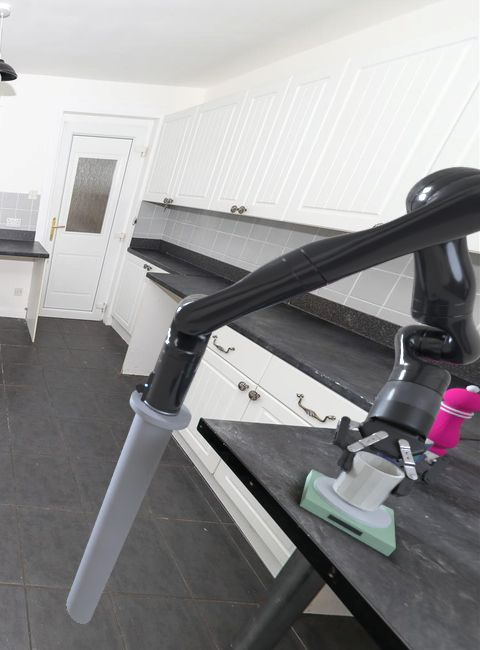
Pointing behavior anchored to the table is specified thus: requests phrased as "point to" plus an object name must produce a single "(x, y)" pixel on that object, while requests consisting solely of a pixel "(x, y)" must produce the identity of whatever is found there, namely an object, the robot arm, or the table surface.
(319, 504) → the scale
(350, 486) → the cup
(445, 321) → the robot arm
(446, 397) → the pepper mill
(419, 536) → the table surface
